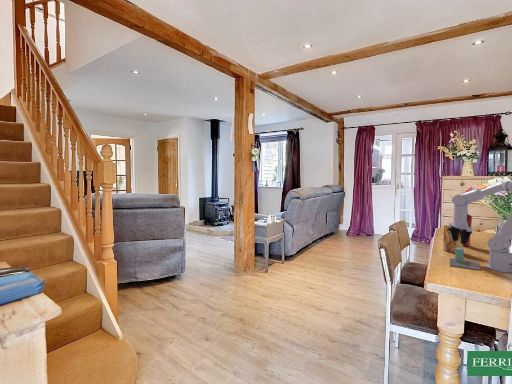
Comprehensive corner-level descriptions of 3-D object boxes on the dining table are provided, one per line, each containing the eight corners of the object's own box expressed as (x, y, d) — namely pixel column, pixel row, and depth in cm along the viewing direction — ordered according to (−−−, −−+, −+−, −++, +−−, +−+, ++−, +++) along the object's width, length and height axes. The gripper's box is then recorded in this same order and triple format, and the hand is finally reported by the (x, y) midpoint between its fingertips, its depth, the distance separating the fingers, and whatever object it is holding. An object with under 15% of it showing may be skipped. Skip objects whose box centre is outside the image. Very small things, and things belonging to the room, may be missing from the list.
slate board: (480, 270, 135) (480, 269, 135) (449, 266, 142) (449, 264, 142) (477, 262, 147) (477, 261, 147) (449, 258, 154) (449, 257, 153)
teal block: (463, 262, 146) (463, 249, 145) (455, 261, 148) (455, 248, 147) (463, 260, 149) (463, 248, 148) (455, 259, 151) (455, 247, 150)
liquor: (454, 245, 182) (455, 201, 180) (461, 243, 185) (462, 201, 183) (466, 247, 175) (468, 202, 174) (473, 246, 178) (475, 202, 177)
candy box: (463, 252, 165) (463, 226, 164) (459, 253, 163) (460, 227, 162) (446, 249, 172) (446, 224, 171) (442, 250, 170) (443, 225, 169)
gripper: (478, 219, 143) (477, 245, 144) (458, 215, 158) (457, 239, 159) (464, 219, 143) (463, 245, 144) (445, 215, 158) (444, 239, 159)
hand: (459, 242), depth 151 cm, fingers open, 6 cm apart
